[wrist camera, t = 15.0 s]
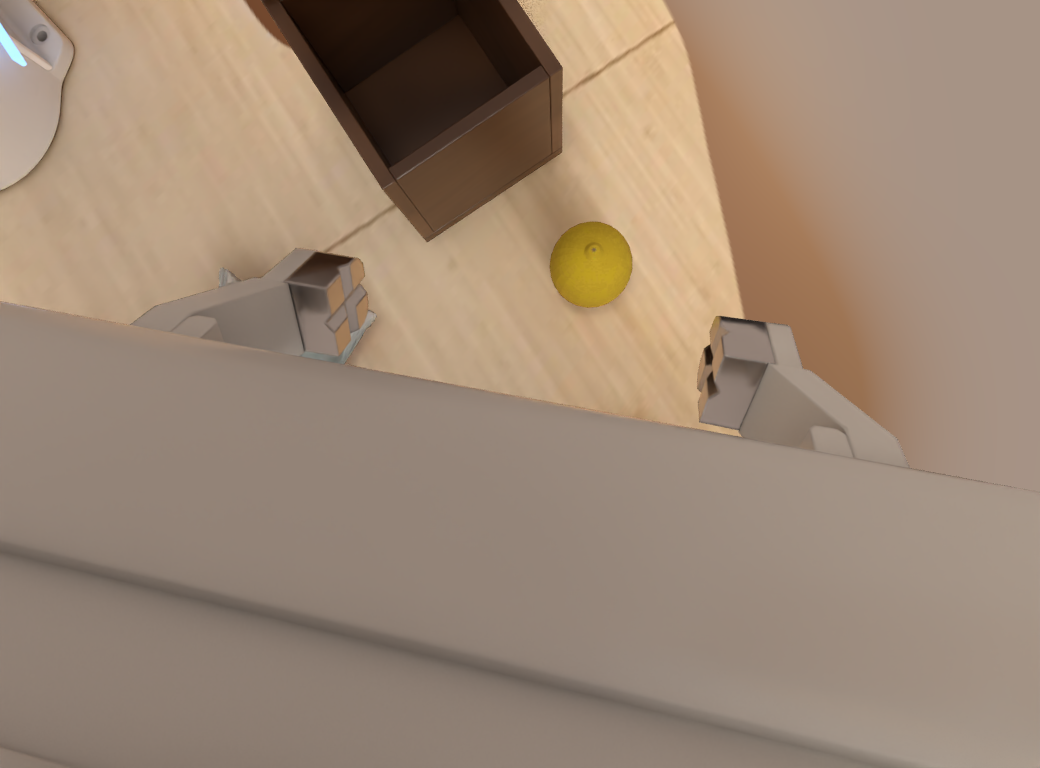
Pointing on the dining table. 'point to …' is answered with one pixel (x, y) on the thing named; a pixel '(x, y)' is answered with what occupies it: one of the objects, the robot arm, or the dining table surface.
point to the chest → (433, 95)
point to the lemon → (591, 264)
